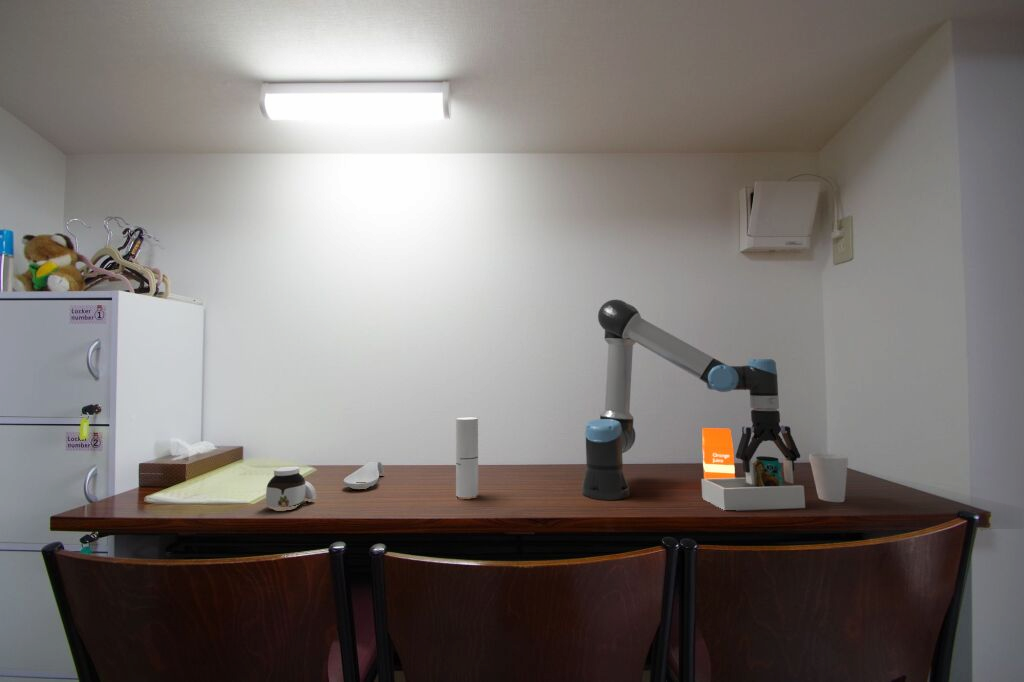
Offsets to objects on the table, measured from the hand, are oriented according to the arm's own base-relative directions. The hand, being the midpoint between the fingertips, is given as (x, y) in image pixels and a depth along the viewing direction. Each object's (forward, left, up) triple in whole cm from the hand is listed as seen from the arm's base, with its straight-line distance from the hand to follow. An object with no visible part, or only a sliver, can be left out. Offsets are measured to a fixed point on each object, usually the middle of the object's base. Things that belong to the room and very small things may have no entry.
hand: (769, 482), depth 126 cm
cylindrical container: (-91, +17, -6) cm, 93 cm away
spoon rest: (-128, +38, -6) cm, 134 cm away
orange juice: (-6, +17, -6) cm, 19 cm away
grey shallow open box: (-6, 0, -6) cm, 8 cm away
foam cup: (+20, +1, -6) cm, 21 cm away
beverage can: (0, 0, -5) cm, 5 cm away
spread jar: (-144, +13, -6) cm, 145 cm away
